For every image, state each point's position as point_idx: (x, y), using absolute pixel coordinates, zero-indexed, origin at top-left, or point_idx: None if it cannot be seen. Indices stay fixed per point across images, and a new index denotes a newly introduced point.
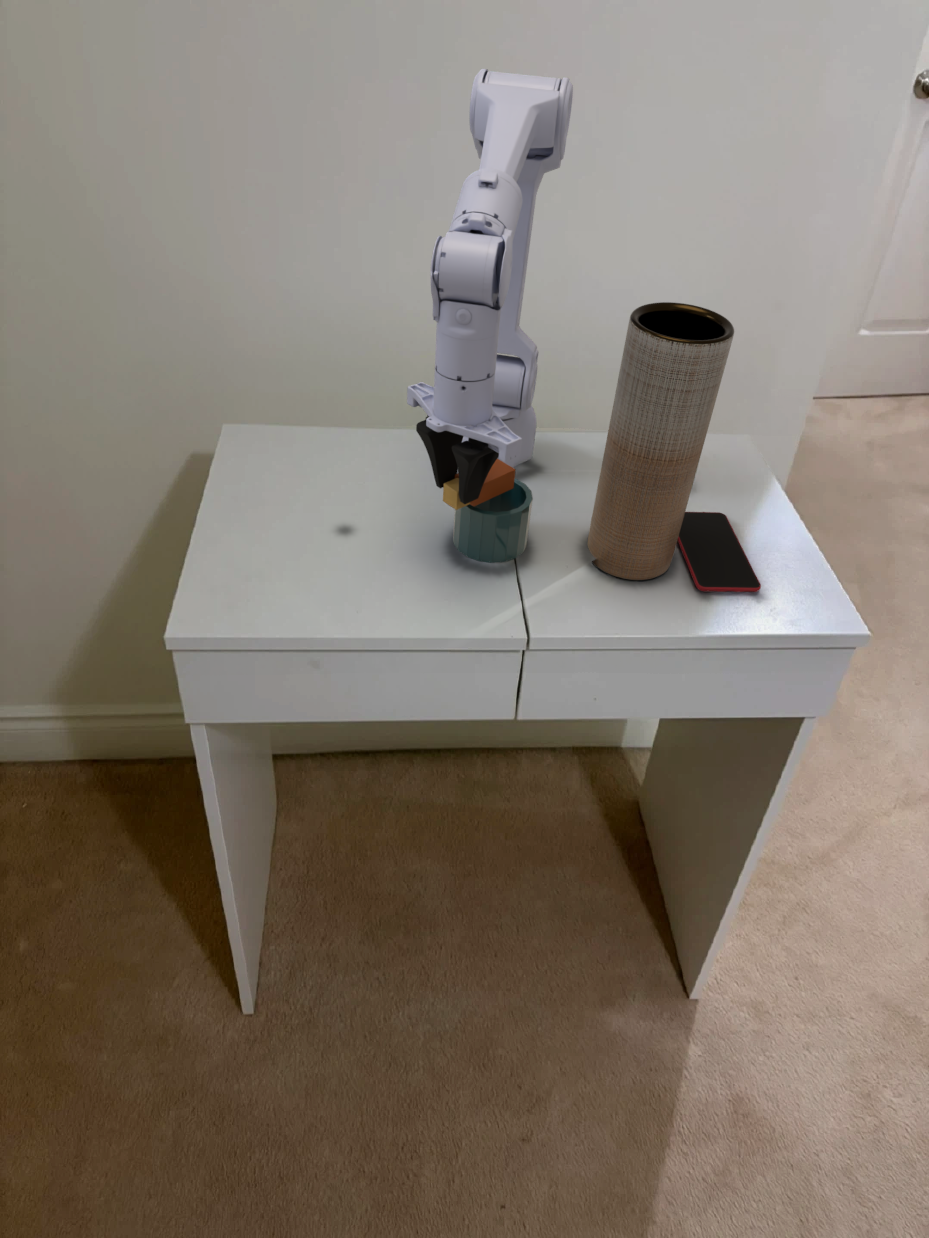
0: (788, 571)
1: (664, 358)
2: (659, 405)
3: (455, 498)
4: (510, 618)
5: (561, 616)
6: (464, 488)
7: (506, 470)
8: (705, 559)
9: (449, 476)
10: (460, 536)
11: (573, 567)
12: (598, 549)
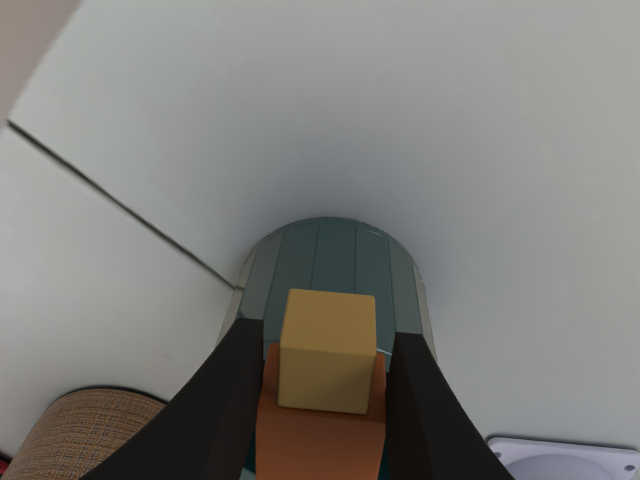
0: None
1: None
2: None
3: (293, 322)
4: (84, 138)
5: (31, 229)
6: (200, 370)
7: None
8: None
9: (391, 401)
10: (349, 260)
11: (158, 363)
12: (113, 426)
